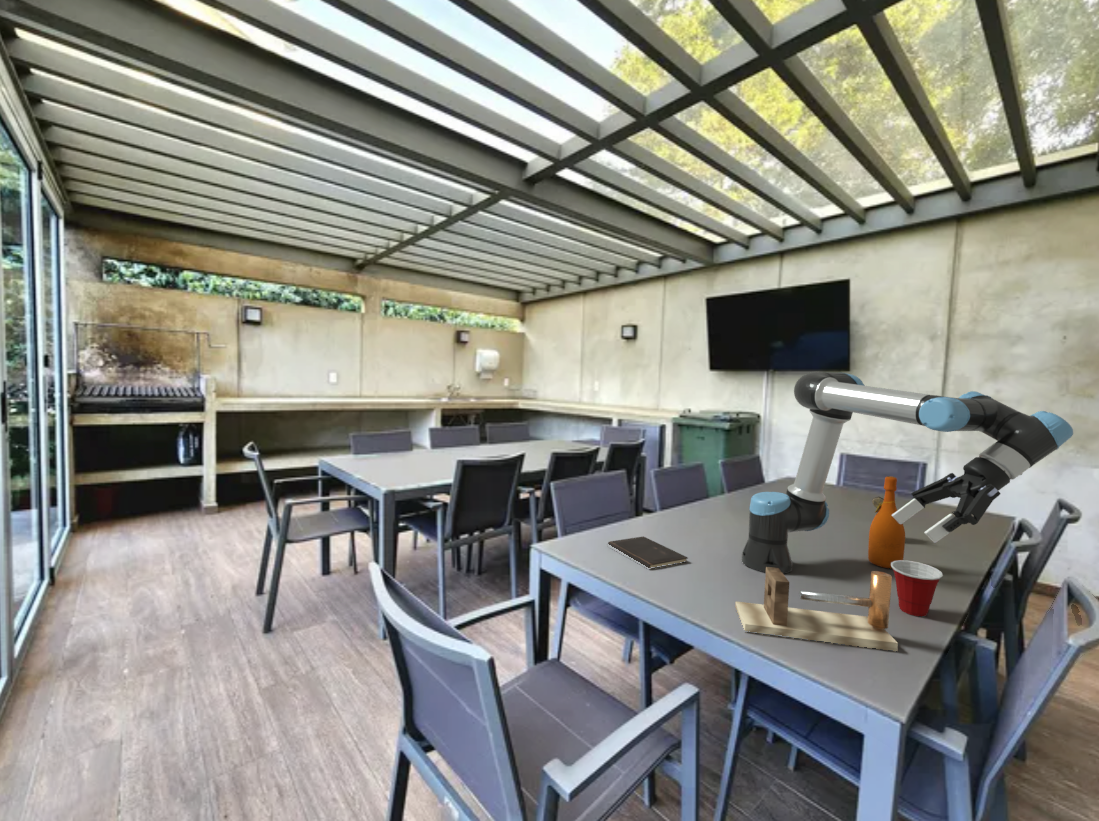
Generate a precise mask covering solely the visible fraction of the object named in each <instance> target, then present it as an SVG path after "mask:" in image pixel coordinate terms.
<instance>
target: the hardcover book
mask: <svg viewBox="0 0 1099 821" xmlns="http://www.w3.org/2000/svg"><path fill="white" fill-rule="evenodd" d="M608 544H609V545H611V546H612V547H614V548H616V549H618V550H619V551H621V552H623V553H624V554H626V555H628V556H629V557H631V558H633V559H634V560H636V561H638V562H640V563H641V564H643V565H645V566H646V567H648V568H651V567H657V566H662V565H668V564H674V563H680V562H684V561H686V562H687V559H689V557H688V556H685V555H683V554H681V553H679V552H677V551H675V550H673V549H671V548H669V547H667V546H664V545H662V544H660V543H658V542H656V541H654V540H652V539H651V538H647V537H646V536H638V537H636V536H635V537H631V538H625V539H618V540H611V541H608V543H607V545H608Z"/></svg>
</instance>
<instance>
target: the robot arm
mask: <svg viewBox="0 0 1099 821" xmlns="http://www.w3.org/2000/svg"><path fill="white" fill-rule="evenodd" d="M793 393H794V394H793V395H794V397H795V400H796V402H797V403H798V404H799V405H801V407H803V408H805V409H808V410H809V413H810V414H811V415H812V420H811V423H810V427H809V430H808V432H807V433H808V434H807V437H806V441H805V444H804V447H803V450H802V455H801V458H800V462H799V465H798V468H797V472H796V477H795V479H794V482H793V483H792V484H790V485H788V486H787V489H786V492H785V493H783V492H779V491H762V492H761V491H760V492H757V493H755V494H753V495H752V496H751V498H750V504H749V520H748V538H747V541H746V543H745V546H744V548H743V550H742V553H741V559H740V560H742V561H741V563H742V562H743V563H742V564H743V565H744V564H745V565H744V566H745V567H748V568H750V569H752V570H754V571H758V570H759V572H762V571H763V573H766V567H774V568H779V569H780V570H781V572H782V573H783V574H787V573H790V572H792V570H793V561H792V557H791V553H790V550H789V546H788V539H789V538H788V537H789V533H795V532H796V533H797V532H811V531H814V530H818V529H821V528H822V527H824V526H825V525H826V523H827V522H828V521H829V517H830V508H829V507H828V502H827V501H826V500H827V496H826V495H825V494H824V488H825V485H826V481H827V478H828V475H829V472H830V469H831V465H832V462H833V460H834V456H835V454H836V453H835V452H836V449H837V447H838V443H839V440H840V437H841V433H842V431H843V430H842V429H843V426H844V424H845V423H847V422H849V421H851V420H852V417H853V413H854V414H861V415H866V416H871V417H874V418H875V417H877V418H880V419H881V418H882V419H886V420H892V421H897V422H902V423H907V424H912V425H913V424H914V425H918V426H923V427H926V428H928V429H929V430H931V431H937V432H942V433H949V432H950V433H951V432H981V433H983V434H985V435H986V436H988V437H990V438H992V439H993V440H995V441H996V442H994V443H992V444H991V445H990V446H988V447H987V448H985V449H984V450H983V451H982V452H980V453H979V454H978V456H976V457H974V458H972V459H971V460H970V461H968V462H967V463H966V464H965V465H963V468H962V469H963V474H962V475H960V476H957V475H956V474H955V473H953V472H951V473H948V474H947V475H945V476H944V477H942V478H941V479H938V480H935V481H934V482H932V483H930V484H927V485H925V486H923V487H921V488H919V489H916V490H915V491H912V492H911V496H912V498H913V499H911V500H909V502H907V503H906V504H904V505H903V506H902V507H900V508H899V509H897V511H896V512H895V513H894V514H892V517H893V518H894V519H895V520H896V521H897V522H898V523H899V524H902V523H903V524H904V523H905V522H907V521H908V520H909V519H911V518H912V517H913V516H915V515H916V514H917V513H919V512H920V511H921V510H923V509H925V508H926V505H929V504H933V503H936V502H938V501H941V500H945V499H948V498H952V499H953V498H954V499H955V498H958V499H959V500H958V503H957V507H956V509H955V510H953V511H951V513H949V514H948V515H946V516H945V517H943V518H942V519H941V520H939V521H937V522H936V523H935V524H934V525H932V526H930V527H929V528H928V529H927V530H925V531H924V532H923V534H925V536H926V537H928V538H929V540H931V541H932V542H933V543H934V544H936V543H937V542H939V541H941V540H942V539H944V538H945V537H946V536H947V535H949V534H950V533H951V532H953V531H955V530H956V529H957V528H959V527H960V526H962V525H968V524H971V525H972V526H975V525H977V524H978V523H979V522H980V520H981V519H982V517H983V516H984V514H985V513H986V512H987V510H988V509H989V507H990V505H991V504H992V503H993V502H994V500H995V499H997V498H998V497H999V496H1000V495H1001V492H1000V490H1002V489H1003V488H1005V486H1007V485H1008V484H1010V483H1011V482H1010V481H1011V480H1015V479H1016V478H1018V477H1019V476H1022V475H1023V473H1024V472H1026V471H1027V470H1029V469H1030V468H1032V467H1033V466H1034V465H1036V464H1037V463H1039V462H1040V461H1041V460H1043V459H1044V458H1046V457H1047V456H1049V455H1050V454H1052V453H1053V452H1055V451H1057V450H1058V449H1060V447H1062V446H1063V445H1064V443H1066V442H1067V441H1068V440H1070V439H1071V438H1072V437H1073V436H1074V429H1073V427H1072V425H1071V424H1070V423H1069V422H1068V421H1067V420H1066V419H1064V418H1063V417H1061V416H1059V415H1058V414H1055V413H1053V412H1050V411H1049V412H1048V411H1047V410H1039V411H1037V412H1034V413H1032V414H1031V415H1028V414H1025V413H1023V412H1020V411H1018V410H1016V409H1014V408H1012V407H1011V406H1008V405H1007V404H1005V403H1003V402H1000V401H999V400H996V399H994V398H993V397H991V396H990V395H985V394H983V393H981V392H978V391H973V390H970V391H968V392H966V393H963V394H961V395H960V396H959V397H951V396H943V395H934V394H928V393H920V392H919V393H918V392H914V391H913V392H912V391H905V390H898V389H891V388H883V387H875V386H871V385H870V386H869V385H865V384H864V383H863V381H862V379H861V378H859V376H857V375H854V374H852V373H847V372H837V371H836V372H834V371H833V372H829V371H826V372H825V371H812V372H807V373H806V374H803V375H802V376H800V378H798V379H797V380H796V382H795V384H794V387H793Z"/></svg>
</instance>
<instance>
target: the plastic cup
mask: <svg viewBox="0 0 1099 821" xmlns="http://www.w3.org/2000/svg"><path fill="white" fill-rule="evenodd" d="M891 567H892V568H893V569H892V571H893V574H894V578H895V584H896V593H897V594H896V595H897V598H898V599H897V600H898V607H899V609H901V612H903V613H905V614H908V615H910V616H914V617H919V616H921V618H922V616H925V617H927V616H928V614H929V610H930V606H931V604H932V603H933V599H934V595H935V592H936V589H937V586H938V585H939V582H940V579H941V578H942V577H943V576H944V575H943V572H942V571H941V570H939V569H938V568H936V567H933V566H931V565H929V564H925V563H922V562H918V561H912V560H904V559H903V560H899V561H894V562H892V563H891Z"/></svg>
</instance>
